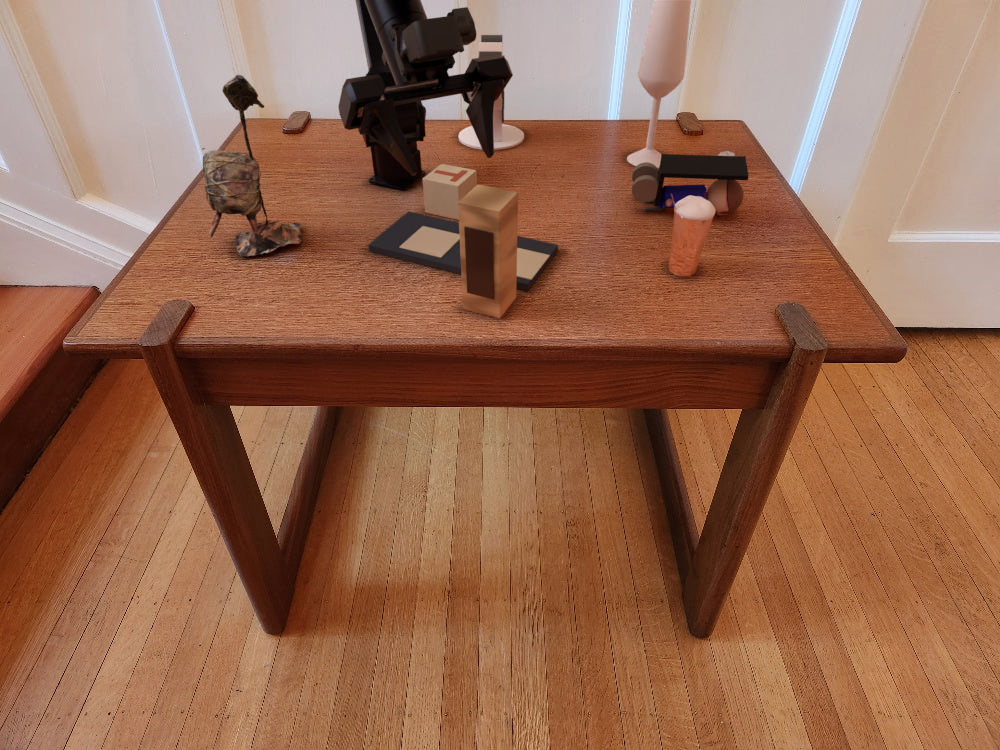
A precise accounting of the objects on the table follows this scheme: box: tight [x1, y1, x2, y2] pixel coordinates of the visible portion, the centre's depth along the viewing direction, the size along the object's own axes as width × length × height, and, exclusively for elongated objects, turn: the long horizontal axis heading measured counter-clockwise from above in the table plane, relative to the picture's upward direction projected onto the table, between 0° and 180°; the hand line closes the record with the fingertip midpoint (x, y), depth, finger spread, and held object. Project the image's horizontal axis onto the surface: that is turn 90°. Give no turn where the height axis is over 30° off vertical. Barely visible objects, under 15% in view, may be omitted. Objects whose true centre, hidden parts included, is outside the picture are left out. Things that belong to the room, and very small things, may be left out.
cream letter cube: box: [421, 163, 478, 221], centre depth 89 cm, size 6×6×5 cm
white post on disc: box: [457, 34, 525, 151], centre depth 105 cm, size 12×11×15 cm
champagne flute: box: [626, 0, 692, 169], centre depth 95 cm, size 7×7×24 cm
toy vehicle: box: [631, 153, 750, 216], centre depth 88 cm, size 7×8×15 cm
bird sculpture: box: [201, 74, 304, 258], centre depth 77 cm, size 8×11×20 cm
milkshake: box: [668, 194, 716, 277], centre depth 75 cm, size 5×5×10 cm
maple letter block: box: [458, 183, 519, 320], centre depth 69 cm, size 5×5×13 cm
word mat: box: [367, 211, 559, 292], centre depth 81 cm, size 22×10×1 cm, turn 65°
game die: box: [716, 150, 736, 156], centre depth 99 cm, size 4×4×3 cm
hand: (453, 164), depth 69 cm, fingers open, 9 cm apart
